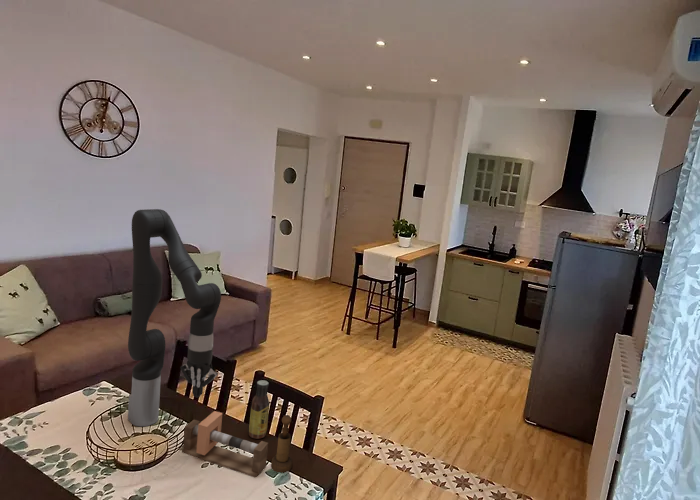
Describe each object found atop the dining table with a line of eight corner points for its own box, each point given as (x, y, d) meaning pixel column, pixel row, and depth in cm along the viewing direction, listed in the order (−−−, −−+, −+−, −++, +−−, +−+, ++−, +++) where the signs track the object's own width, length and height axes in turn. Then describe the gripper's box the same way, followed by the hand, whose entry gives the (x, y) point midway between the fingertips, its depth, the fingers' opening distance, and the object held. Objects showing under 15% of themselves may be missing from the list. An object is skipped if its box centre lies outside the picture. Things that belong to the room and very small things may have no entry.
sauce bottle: (262, 441, 167) (267, 389, 163) (245, 437, 168) (250, 385, 164) (269, 431, 173) (274, 380, 169) (252, 427, 174) (257, 377, 170)
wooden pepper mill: (274, 474, 151) (280, 423, 147) (268, 462, 156) (273, 412, 153) (294, 470, 154) (300, 420, 150) (287, 458, 160) (293, 409, 156)
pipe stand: (181, 452, 156) (182, 428, 154) (194, 441, 162) (195, 417, 161) (256, 478, 148) (259, 453, 147) (267, 465, 155) (269, 441, 153)
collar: (196, 452, 153) (198, 424, 151) (212, 438, 161) (214, 410, 159) (204, 455, 152) (206, 426, 150) (220, 440, 160) (222, 413, 158)
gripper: (175, 345, 150) (172, 396, 153) (212, 354, 146) (208, 406, 149) (189, 337, 157) (186, 386, 160) (225, 346, 153) (221, 396, 156)
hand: (197, 396), depth 155 cm, fingers closed
